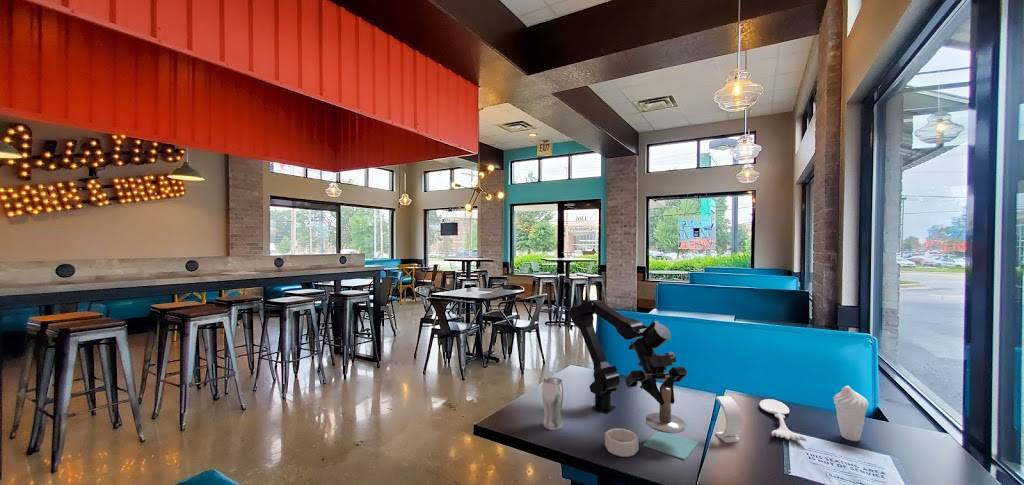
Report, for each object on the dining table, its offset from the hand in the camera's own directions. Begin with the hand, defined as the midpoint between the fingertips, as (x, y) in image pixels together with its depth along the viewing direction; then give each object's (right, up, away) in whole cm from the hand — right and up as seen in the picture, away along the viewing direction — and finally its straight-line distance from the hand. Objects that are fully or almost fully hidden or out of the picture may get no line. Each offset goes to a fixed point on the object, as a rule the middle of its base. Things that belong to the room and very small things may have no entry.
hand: (668, 403), depth 120 cm
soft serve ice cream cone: (+58, -13, +5) cm, 60 cm away
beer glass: (-33, -13, +14) cm, 38 cm away
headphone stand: (+20, -13, +5) cm, 25 cm away
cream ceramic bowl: (-14, -13, -1) cm, 19 cm away
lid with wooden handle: (0, -7, +1) cm, 7 cm away
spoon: (+43, -13, +15) cm, 47 cm away
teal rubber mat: (+2, -13, +2) cm, 13 cm away
